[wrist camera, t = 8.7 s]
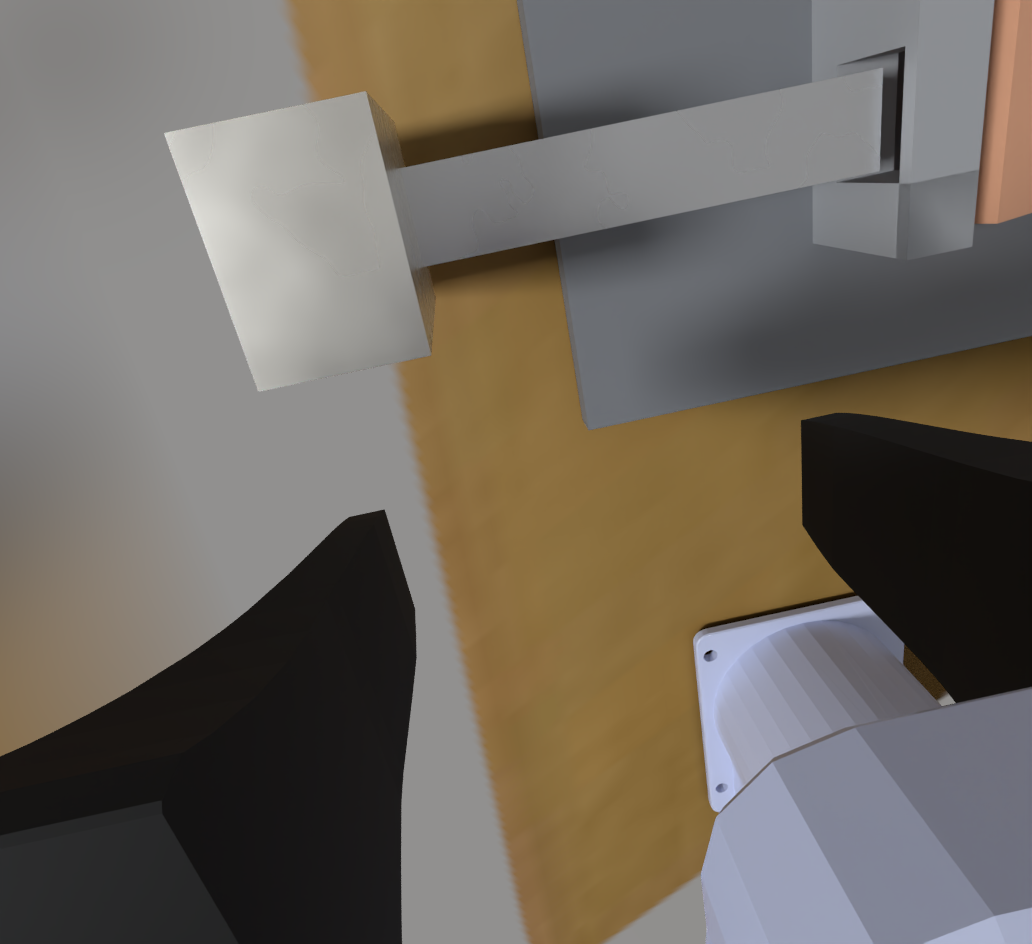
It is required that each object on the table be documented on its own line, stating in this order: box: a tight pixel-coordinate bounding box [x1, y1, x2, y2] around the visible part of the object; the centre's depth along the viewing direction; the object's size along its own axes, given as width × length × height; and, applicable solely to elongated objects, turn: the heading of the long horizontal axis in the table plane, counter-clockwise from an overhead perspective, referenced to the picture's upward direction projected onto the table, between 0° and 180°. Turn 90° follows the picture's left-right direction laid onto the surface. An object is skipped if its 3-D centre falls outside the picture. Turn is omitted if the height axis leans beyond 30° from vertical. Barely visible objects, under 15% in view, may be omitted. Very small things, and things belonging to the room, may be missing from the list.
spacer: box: [974, 0, 1032, 224], centre depth 16 cm, size 5×4×3 cm
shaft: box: [164, 68, 883, 392], centre depth 13 cm, size 4×13×6 cm, turn 101°
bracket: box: [517, 0, 1032, 430], centre depth 16 cm, size 14×16×5 cm
